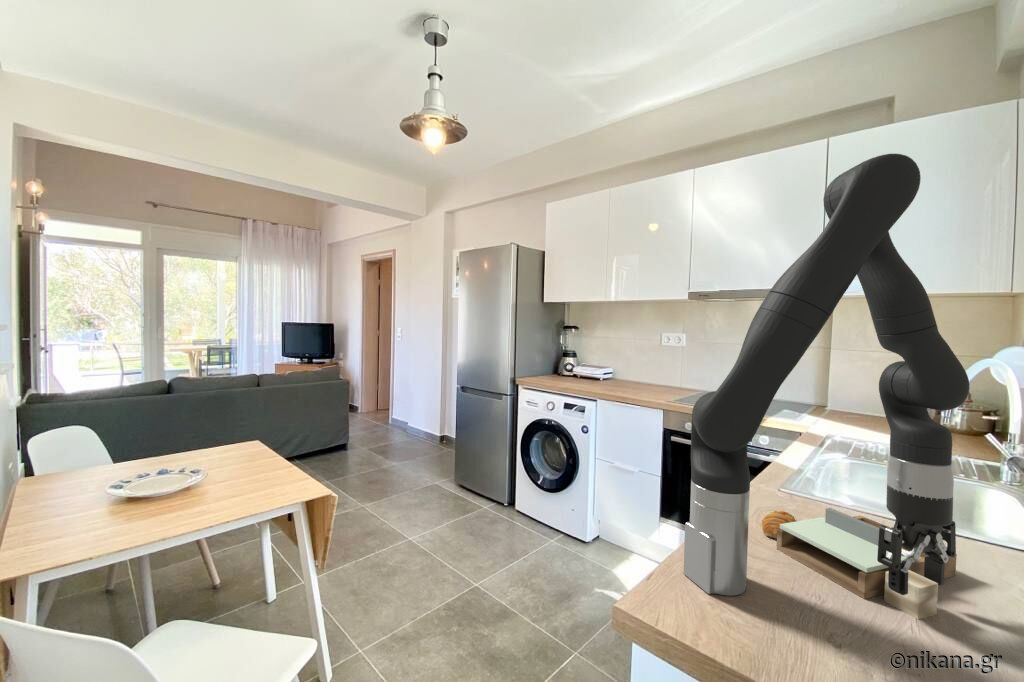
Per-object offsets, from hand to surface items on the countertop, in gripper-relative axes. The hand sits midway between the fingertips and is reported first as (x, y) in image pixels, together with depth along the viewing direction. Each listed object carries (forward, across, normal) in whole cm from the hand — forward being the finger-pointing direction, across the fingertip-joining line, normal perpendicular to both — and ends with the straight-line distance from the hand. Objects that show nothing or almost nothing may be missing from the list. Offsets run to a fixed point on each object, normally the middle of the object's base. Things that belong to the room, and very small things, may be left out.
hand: (916, 587), depth 66 cm
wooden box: (+4, +7, +12) cm, 14 cm away
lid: (-1, +1, +12) cm, 12 cm away
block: (+4, 0, +1) cm, 4 cm away
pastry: (+4, +2, +26) cm, 26 cm away
